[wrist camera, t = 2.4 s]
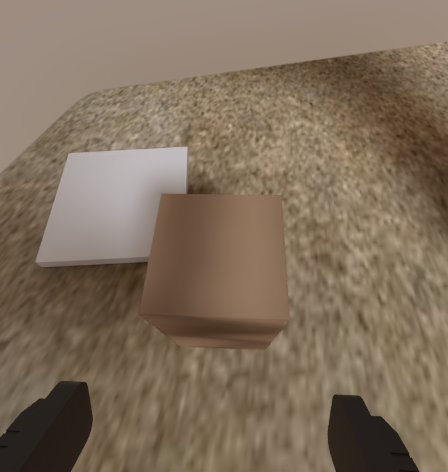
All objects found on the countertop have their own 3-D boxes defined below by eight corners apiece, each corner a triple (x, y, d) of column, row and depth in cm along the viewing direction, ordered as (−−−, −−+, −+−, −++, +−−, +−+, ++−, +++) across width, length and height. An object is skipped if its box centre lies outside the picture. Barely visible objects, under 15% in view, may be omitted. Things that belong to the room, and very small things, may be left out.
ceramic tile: (188, 154, 29) (187, 146, 28) (186, 259, 23) (184, 254, 22) (74, 160, 29) (68, 153, 28) (42, 267, 23) (35, 262, 22)
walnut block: (262, 270, 22) (281, 195, 14) (264, 350, 20) (289, 319, 11) (189, 268, 23) (161, 193, 14) (180, 346, 20) (138, 313, 11)
